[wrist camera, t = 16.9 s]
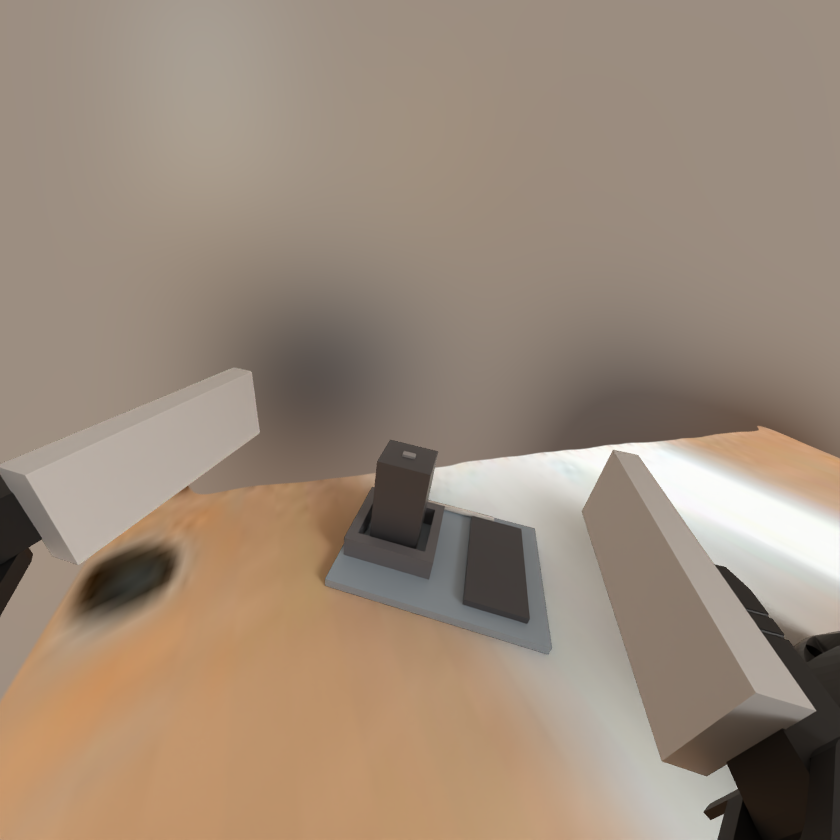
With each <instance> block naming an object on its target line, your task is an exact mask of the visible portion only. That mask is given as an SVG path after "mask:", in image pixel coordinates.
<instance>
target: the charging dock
mask: <svg viewBox="0 0 840 840" xmlns="http://www.w3.org/2000/svg"><path fill="white" fill-rule="evenodd" d="M374 488H375V487H372V488H371V490H370V492H369V493H368V495H367V497H366V499H365V501H364V503H363V504H362V506H361V508H360V510H359V512H358V514H357V515H356V517H355V519H354V521H353V523H352V525H351V526H350V528H349V530H348V532H347V534H346V535H345V537H344V545H343V547H342V549H341V550H340V552H339V554H338V556H337V558H336V560H335V562H334V563H333V565H332V567H331V569H330V571H329V573H328V575H327V576H326V578H325V586H328V587H331V588H334V589H338V590H341V591H344V592H347V593H351V594H354V595H357V596H360V597H364V598H367V599H370V600H373V601H377V602H380V603H383V604H386V605H390V606H393V607H396V608H399V609H403V610H406V611H409V612H412V613H415V614H419V615H422V616H425V617H428V618H432V619H435V620H438V621H441V622H445V623H448V624H451V625H454V626H458V627H461V628H464V629H467V630H471V631H474V632H477V633H480V634H484V635H487V636H490V637H493V638H497V639H500V640H503V641H506V642H510V643H513V644H516V645H519V646H523V647H526V648H529V649H532V650H536V651H539V652H542V653H545V654H549V652H550V651H551V649H552V645H551V638H550V631H549V624H548V617H547V610H546V603H545V596H544V589H543V583H542V576H541V569H540V562H539V555H538V548H537V541H536V534H535V529H534V528H530V527H527V526H523V525H519V524H515V523H511V522H508V521H504V520H500V519H496V518H493V517H491V516H487V515H484V514H480V513H476V512H472V511H468V510H465V509H461V508H457V507H453V506H449V505H446V504H442V503H438V502H434V501H430V500H428V502H427V507H426V512H425V517H424V522H423V526H422V531H421V534H420V538H419V541H418V545H417V548H416V549H413V548H410V547H406V546H403V545H399V544H396V543H392V542H389V541H385V540H382V539H378V538H375V537H371V536H370V527H371V518H372V508H373V498H374Z"/></svg>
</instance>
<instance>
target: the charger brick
mask: <svg viewBox="0 0 840 840" xmlns="http://www.w3.org/2000/svg"><path fill="white" fill-rule="evenodd" d="M437 455H438V451H434V450H430V449H426V448H422V447H418V446H414V445H409V444H406V443H402V442H398V441H393V440H390V441H389V443H388V445H387V446H386V448H385V449H384V451H383V453H382V454H381V456H380V458H379V459H378V461H377V469H376V478H375V488H374V498H373V508H372V518H371V527H370V536H371V537H375V538H378V539H382V540H385V541H389V542H392V543H396V544H399V545H403V546H406V547H410V548H413V549H416V548H417V545H418V541H419V538H420V534H421V531H422V526H423V522H424V517H425V512H426V507H427V502H428V498H429V493H430V488H431V483H432V479H433V474H434V469H435V464H436V459H437Z"/></svg>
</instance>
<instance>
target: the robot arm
mask: <svg viewBox="0 0 840 840" xmlns="http://www.w3.org/2000/svg"><path fill="white" fill-rule="evenodd" d="M259 433H260V431H259V423H258V415H257V408H256V401H255V393H254V386H253V378H252V371H248V370H243V369H239V368H231V369H229V370H227V371H224V372H222V373H219V374H217V375H214V376H212V377H209V378H207V379H205V380H202V381H200V382H197V383H195V384H192V385H190V386H188V387H185V388H183V389H180V390H178V391H176V392H173V393H171V394H168V395H166V396H164V397H161V398H158V399H156V400H154V401H151V402H149V403H146V404H144V405H142V406H140V407H137V408H134V409H132V410H129V411H127V412H125V413H122V414H120V415H117V416H115V417H113V418H110V419H108V420H105V421H103V422H100V423H98V424H96V425H94V426H91V427H88V428H86V429H84V430H81V431H79V432H76V433H74V434H71V435H69V436H67V437H64V438H62V439H59V440H57V441H54V442H52V443H50V444H47V445H45V446H42V447H40V448H38V449H35V450H33V451H30V452H28V453H26V454H23V455H20V456H18V457H16V458H13V459H11V460H8V461H6V462H4V463H1V464H0V615H1V614H2V612H3V610H4V608H5V607H6V605H7V603H8V601H9V600H10V598H11V596H12V594H13V593H14V591H15V589H16V587H17V586H18V584H19V582H20V580H21V578H22V577H23V575H24V573H25V571H26V570H27V568H28V565H29V564H30V563H31V560H32V556H33V553H32V552H31V551H30V549H29V548H28V547H30V546H31V545H33V544H35V543H36V542H38V541H40V540H41V539H42V541H43V542H44V544H45V545H46V547H47V548H48V550H49V551H50V553H51V555H52V556H53V557H56V558H59V559H62V560H64V561H67V562H70V563H73V564H76V565H80V564H81V563H82V562H84V561H85V560H86V559H88V558H89V557H90V556H92V555H93V554H95V553H96V552H97V551H99V550H100V549H101V548H103V547H104V546H106V545H107V544H108V543H110V542H111V541H112V540H114V539H115V538H116V537H118V536H119V535H121V534H122V533H123V532H125V531H126V530H127V529H129V528H130V527H132V526H133V525H134V524H136V523H137V522H138V521H140V520H141V519H143V518H144V517H145V516H147V515H148V514H149V513H151V512H152V511H153V510H155V509H156V508H158V507H159V506H160V505H162V504H163V503H164V502H166V501H167V500H169V499H170V498H171V497H173V496H174V495H175V494H177V493H178V492H180V491H181V490H182V489H184V488H185V487H186V486H188V485H189V484H190V483H192V482H193V481H195V480H196V479H197V478H199V477H200V476H201V475H203V474H204V473H206V472H207V471H208V470H210V469H211V468H212V467H214V466H215V465H216V464H218V463H219V462H221V461H222V460H223V459H225V458H226V457H227V456H229V455H230V454H232V453H233V452H234V451H236V450H237V449H238V448H240V447H241V446H242V445H244V444H245V443H247V442H248V441H249V440H251V439H252V438H253V437H255V436H256V435H258V434H259ZM582 514H583V517H584V520H585V523H586V526H587V530H588V533H589V536H590V539H591V542H592V545H593V548H594V551H595V555H596V558H597V561H598V564H599V567H600V570H601V573H602V576H603V580H604V583H605V586H606V589H607V592H608V595H609V598H610V601H611V604H612V608H613V611H614V614H615V617H616V620H617V623H618V626H619V629H620V633H621V636H622V639H623V642H624V645H625V648H626V651H627V654H628V657H629V661H630V664H631V667H632V670H633V673H634V676H635V679H636V682H637V686H638V689H639V692H640V695H641V698H642V701H643V704H644V707H645V710H646V714H647V717H648V720H649V723H650V726H651V729H652V732H653V735H654V739H655V742H656V745H657V748H658V751H659V754H660V757H661V760H662V761H663V762H666V763H669V764H672V765H675V766H678V767H681V768H684V769H687V770H690V771H693V772H696V773H698V774H701V775H704V776H708V775H710V774H711V773H713V772H715V771H716V770H718V769H720V768H722V767H723V766H725V765H728V767H729V769H730V772H731V774H732V776H733V778H734V781H735V783H736V785H737V787H738V789H737V790H735V791H734V792H732V793H730V794H728V795H726V796H724V797H722V798H720V799H718V800H716V801H714V802H712V803H710V804H709V805H708V807H707V808H706V809H705V811H704V813H705V814H706V816H707V817H708V818H709V819H710V820H712V819H714V818H716V817H718V816H720V815H722V814H724V817H723V821H722V825H721V828H720V832H719V836H718V840H840V631H837V632H831V633H826V634H821V635H815V636H811V637H808V638H806V639H804V640H802V641H801V642H799V643H798V644H797V645H795V646H794V647H793V646H792V644H791V643H790V642H789V640H785V639H784V634H783V632H782V631H781V630H780V628H779V627H778V626H777V624H776V623H775V622H774V620H773V619H771V618H769V617H768V612H767V611H766V610H765V608H764V607H763V606H762V604H761V603H760V602H759V600H758V599H757V598H756V596H755V595H754V594H753V592H752V591H751V590H750V589H749V588H748V587H747V586H746V585H745V584H744V583H743V582H741V581H740V580H739V579H738V578H737V577H736V576H735V575H734V574H733V573H732V572H730V571H729V570H728V569H727V568H726V567H723V566H719V565H715V564H714V563H713V562H712V560H711V559H710V558H709V556H708V555H707V553H706V552H705V550H704V549H703V547H702V546H701V545H700V543H699V542H698V540H697V539H696V537H695V536H694V535H693V533H692V532H691V530H690V529H689V527H688V526H687V525H686V523H685V522H684V520H683V519H682V517H681V516H680V515H679V513H678V512H677V510H676V509H675V507H674V506H673V504H672V503H671V502H670V500H669V499H668V497H667V496H666V494H665V493H664V492H663V490H662V489H661V487H660V486H659V484H658V483H657V482H656V480H655V479H654V477H653V476H652V474H651V473H650V471H649V470H648V469H647V467H646V466H645V464H644V463H643V461H642V460H641V459H640V457H639V456H638V455H635V454H631V453H626V452H621V451H617V450H613V451H612V453H611V455H610V457H609V459H608V461H607V463H606V465H605V467H604V469H603V471H602V473H601V475H600V477H599V479H598V481H597V483H596V485H595V487H594V489H593V491H592V492H591V494H590V496H589V498H588V500H587V502H586V504H585V506H584V508H583V510H582Z"/></svg>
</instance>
